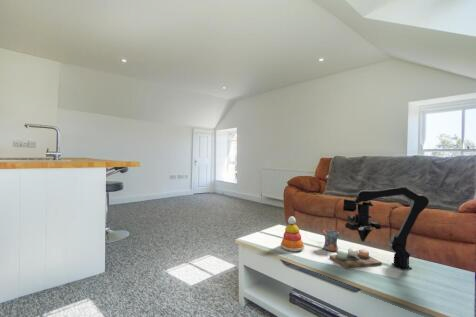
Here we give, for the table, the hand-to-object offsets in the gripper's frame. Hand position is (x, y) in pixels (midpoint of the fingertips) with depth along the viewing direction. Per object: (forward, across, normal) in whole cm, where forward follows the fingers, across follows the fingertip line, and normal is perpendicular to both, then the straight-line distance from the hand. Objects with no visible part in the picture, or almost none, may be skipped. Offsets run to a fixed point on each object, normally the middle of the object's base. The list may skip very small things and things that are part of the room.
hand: (362, 241), depth 130 cm
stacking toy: (+11, +31, -22) cm, 40 cm away
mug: (+10, +7, -17) cm, 21 cm away
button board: (+10, +6, +2) cm, 12 cm away
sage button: (+8, +13, 0) cm, 15 cm away
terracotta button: (+8, -1, 0) cm, 8 cm away
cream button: (+7, +6, 0) cm, 9 cm away
